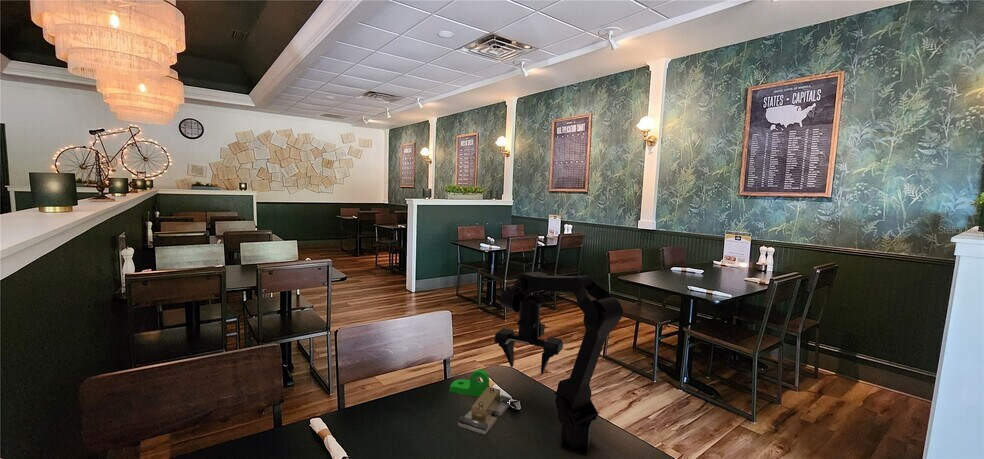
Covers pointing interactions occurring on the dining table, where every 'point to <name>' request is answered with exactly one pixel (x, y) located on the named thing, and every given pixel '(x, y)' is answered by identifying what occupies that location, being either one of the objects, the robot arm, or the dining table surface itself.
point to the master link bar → (486, 405)
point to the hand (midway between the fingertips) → (527, 370)
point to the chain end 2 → (502, 405)
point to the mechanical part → (471, 384)
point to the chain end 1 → (476, 423)
